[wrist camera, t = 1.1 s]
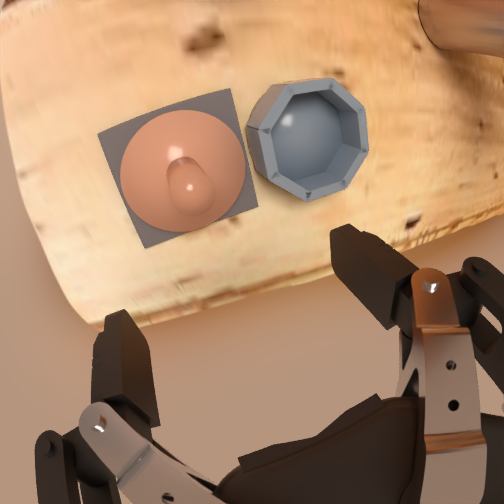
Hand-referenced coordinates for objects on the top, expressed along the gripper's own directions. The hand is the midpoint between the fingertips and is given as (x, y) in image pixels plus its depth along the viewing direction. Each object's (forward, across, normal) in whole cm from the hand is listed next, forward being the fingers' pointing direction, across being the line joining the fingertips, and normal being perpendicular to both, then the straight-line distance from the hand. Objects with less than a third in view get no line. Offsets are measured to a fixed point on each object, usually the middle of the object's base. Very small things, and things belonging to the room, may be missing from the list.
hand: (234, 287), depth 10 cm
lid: (+17, 0, 0) cm, 17 cm away
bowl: (+18, -12, 0) cm, 22 cm away
